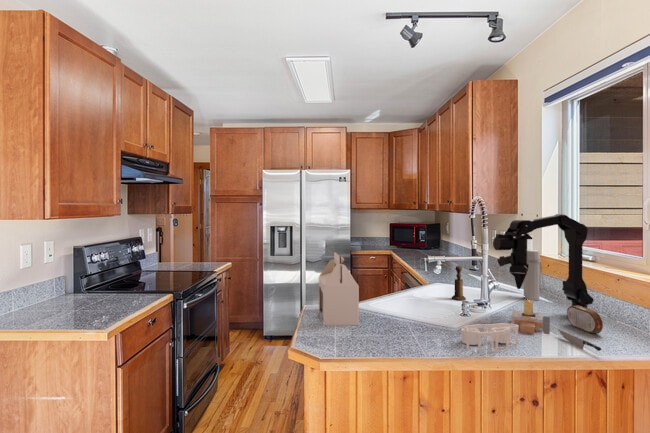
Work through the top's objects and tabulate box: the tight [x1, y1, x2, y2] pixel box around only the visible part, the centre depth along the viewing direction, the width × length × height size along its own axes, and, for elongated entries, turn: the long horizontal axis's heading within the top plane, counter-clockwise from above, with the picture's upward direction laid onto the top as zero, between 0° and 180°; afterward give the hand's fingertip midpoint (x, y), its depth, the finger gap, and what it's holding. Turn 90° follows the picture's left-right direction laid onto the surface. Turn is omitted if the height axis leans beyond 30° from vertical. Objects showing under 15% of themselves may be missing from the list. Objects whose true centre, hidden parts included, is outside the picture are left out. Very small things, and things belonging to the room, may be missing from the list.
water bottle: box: [523, 249, 544, 302], centre depth 190 cm, size 9×8×25 cm
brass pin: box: [523, 299, 534, 317], centre depth 145 cm, size 3×3×10 cm
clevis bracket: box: [510, 309, 544, 335], centre depth 143 cm, size 16×10×5 cm
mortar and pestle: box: [451, 265, 467, 302], centre depth 186 cm, size 7×6×18 cm
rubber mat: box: [543, 315, 551, 335], centre depth 150 cm, size 26×14×1 cm, turn 149°
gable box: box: [318, 251, 360, 326], centre depth 150 cm, size 22×13×28 cm, turn 6°
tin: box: [566, 305, 604, 334], centre depth 142 cm, size 15×3×8 cm, turn 4°
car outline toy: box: [460, 322, 520, 353], centre depth 122 cm, size 20×11×7 cm, turn 98°
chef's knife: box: [557, 328, 602, 352], centre depth 124 cm, size 19×1×3 cm, turn 4°
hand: (519, 287), depth 158 cm, fingers open, 9 cm apart
